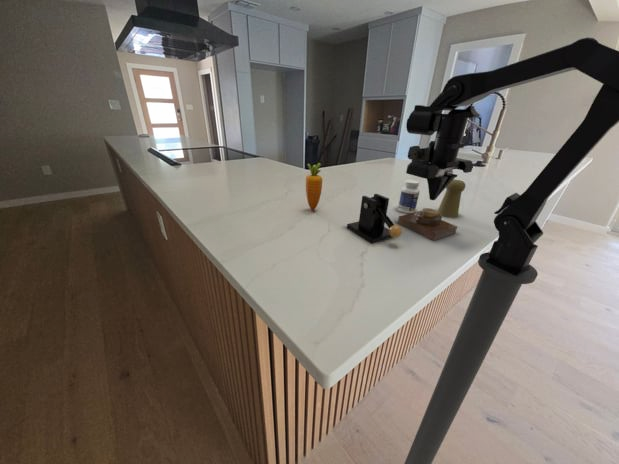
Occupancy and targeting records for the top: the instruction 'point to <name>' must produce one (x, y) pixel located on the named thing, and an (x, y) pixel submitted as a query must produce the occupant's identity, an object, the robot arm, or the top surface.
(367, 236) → the bracket
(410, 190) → the pill bottle
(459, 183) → the cork
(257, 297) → the top surface
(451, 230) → the switch block
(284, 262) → the top surface
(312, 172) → the carrot
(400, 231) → the ball knob lever
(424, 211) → the button
